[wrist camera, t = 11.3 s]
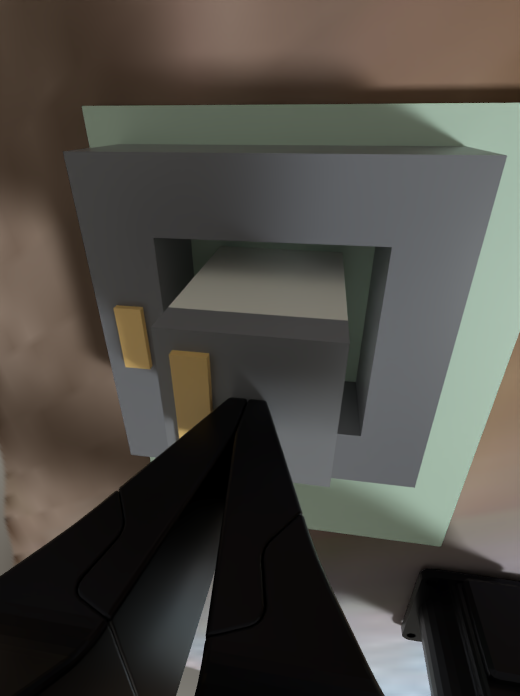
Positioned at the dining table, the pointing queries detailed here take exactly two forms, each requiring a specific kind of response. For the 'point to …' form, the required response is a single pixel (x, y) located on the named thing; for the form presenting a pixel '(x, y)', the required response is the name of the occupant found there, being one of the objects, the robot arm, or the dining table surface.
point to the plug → (260, 348)
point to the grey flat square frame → (304, 228)
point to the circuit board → (481, 307)
